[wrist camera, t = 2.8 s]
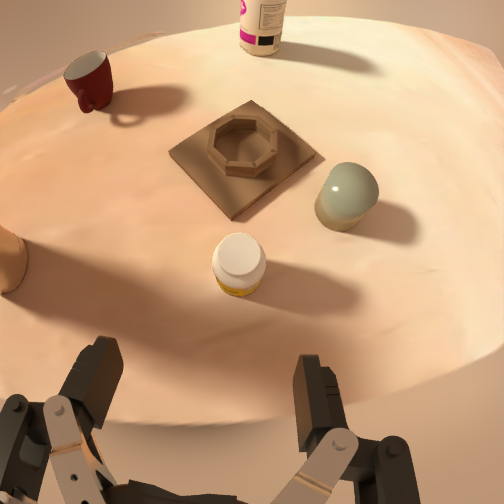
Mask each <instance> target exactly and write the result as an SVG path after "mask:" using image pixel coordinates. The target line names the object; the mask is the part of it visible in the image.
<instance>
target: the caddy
mask: <svg viewBox="0 0 504 504" xmlns="http://www.w3.org/2000/svg"><path fill="white" fill-rule="evenodd" d="M168 152H169V155H170V157H171V158H172V159H173V160H174V161H175V162H176V163H177V164H178V165H179V166H180V167H181V168H182V169H183V170H184V171H185V172H186V173H187V174H188V176H189V177H190V178H191V179H192V180H193V181H194V182H195V183H196V184H197V185H198V186H199V187H200V188H201V189H202V190H203V191H204V192H205V194H206V195H207V196H208V197H209V198H210V199H211V200H212V201H213V202H214V203H215V204H216V205H217V206H218V207H219V208H220V209H221V210H222V212H223V213H224V214H225V215H226V216H227V217H228V218H229V219H230V220H231V221H232V220H233V219H234V218H236V217H237V216H238V215H239V214H241V213H242V212H243V211H244V210H246V209H247V208H248V207H250V206H251V205H252V204H253V203H255V202H256V201H257V200H258V199H260V198H261V197H262V196H264V195H265V194H266V193H267V192H269V191H270V190H271V189H273V188H274V187H275V186H277V185H278V184H279V183H280V182H282V181H283V180H284V179H286V178H287V177H288V176H290V175H291V174H292V173H294V172H295V171H296V170H298V169H299V168H300V167H302V166H303V165H304V164H306V163H307V162H308V161H310V160H311V159H312V158H314V157H315V154H316V152H315V151H314V150H313V149H312V148H311V147H309V146H308V145H307V144H306V143H305V142H304V141H302V140H301V139H300V138H299V137H298V136H297V135H295V134H294V133H293V132H292V131H291V130H289V129H288V128H287V127H286V126H284V125H283V124H282V123H281V122H279V121H278V120H277V119H276V118H274V117H273V116H272V115H271V114H269V113H268V112H267V111H265V110H264V109H263V108H262V107H260V106H259V105H258V104H256V103H255V102H254V101H252V100H250V101H249V102H247V103H245V104H243V105H241V106H240V107H238V108H236V109H234V110H233V111H231V112H229V113H227V114H226V115H224V116H222V117H221V118H219V119H217V120H216V121H214V122H212V123H211V124H209V125H207V126H206V127H204V128H203V129H201V130H199V131H198V132H196V133H195V134H193V135H192V136H190V137H188V138H187V139H185V140H184V141H182V142H181V143H179V144H178V145H176V146H175V147H174V148H172V149H171V150H169V151H168Z"/></svg>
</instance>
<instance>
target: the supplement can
mask: <svg viewBox="0 0 504 504" xmlns="http://www.w3.org/2000/svg"><path fill="white" fill-rule="evenodd" d="M286 1H287V0H241V18H240V47H241V48H242V49H243V50H244V51H245V52H247V53H249V54H251V55H255V56H267V55H271V54H273V53H275V52H276V51H278V50H279V47H280V41H281V34H282V27H283V21H284V14H285V7H286Z"/></svg>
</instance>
